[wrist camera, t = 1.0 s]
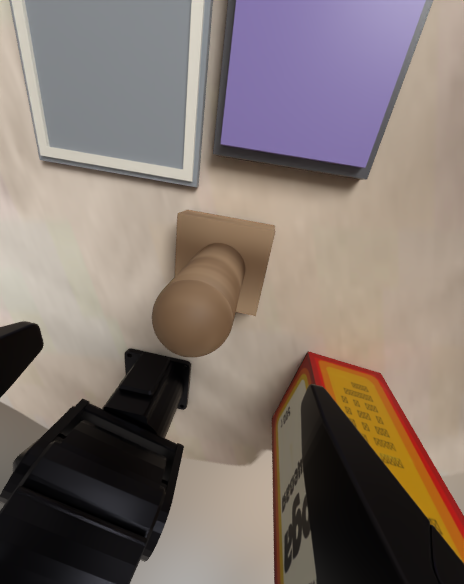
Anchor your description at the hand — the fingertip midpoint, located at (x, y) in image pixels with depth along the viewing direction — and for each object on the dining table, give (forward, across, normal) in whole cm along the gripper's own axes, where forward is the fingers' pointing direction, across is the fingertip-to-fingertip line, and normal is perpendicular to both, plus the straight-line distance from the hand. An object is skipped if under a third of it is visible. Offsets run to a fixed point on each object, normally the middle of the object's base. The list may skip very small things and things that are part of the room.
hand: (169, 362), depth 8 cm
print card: (+11, +8, -10) cm, 17 cm away
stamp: (+11, 0, 0) cm, 11 cm away
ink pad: (+11, -3, -11) cm, 16 cm away
